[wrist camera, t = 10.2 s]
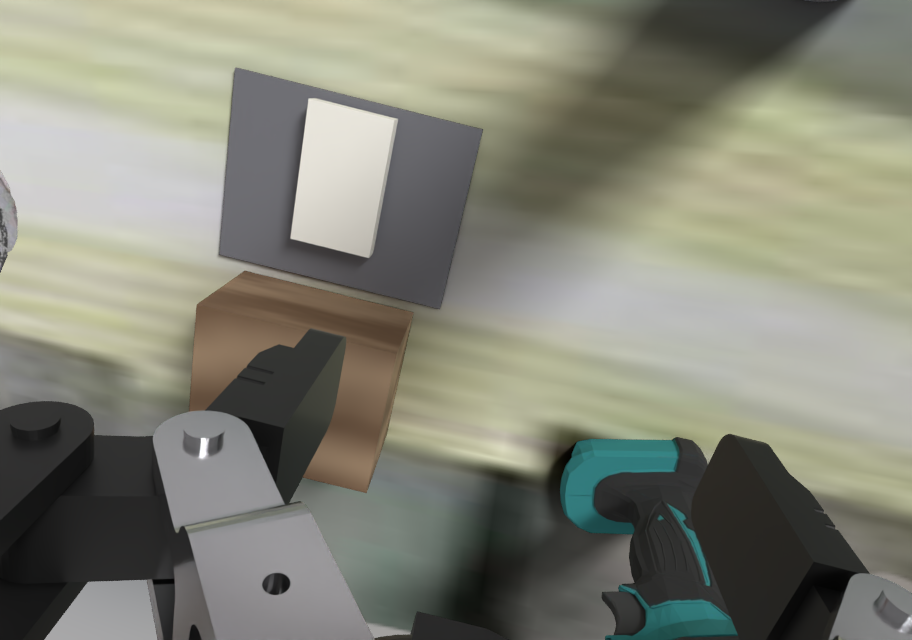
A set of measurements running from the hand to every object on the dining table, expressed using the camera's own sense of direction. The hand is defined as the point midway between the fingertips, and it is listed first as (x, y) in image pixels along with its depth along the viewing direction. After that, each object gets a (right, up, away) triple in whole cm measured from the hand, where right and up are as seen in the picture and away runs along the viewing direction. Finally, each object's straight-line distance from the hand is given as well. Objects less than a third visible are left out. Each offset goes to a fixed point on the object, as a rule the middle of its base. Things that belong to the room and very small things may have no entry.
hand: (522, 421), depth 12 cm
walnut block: (-13, -1, +38) cm, 40 cm away
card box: (-10, +12, +30) cm, 34 cm away
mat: (-10, +12, +33) cm, 36 cm away
